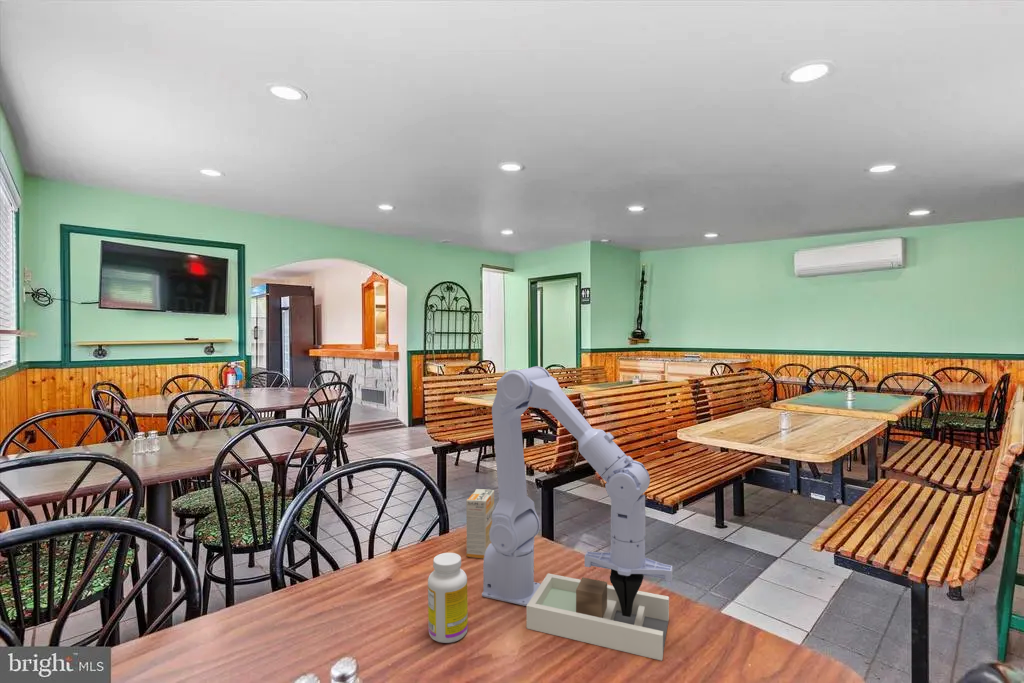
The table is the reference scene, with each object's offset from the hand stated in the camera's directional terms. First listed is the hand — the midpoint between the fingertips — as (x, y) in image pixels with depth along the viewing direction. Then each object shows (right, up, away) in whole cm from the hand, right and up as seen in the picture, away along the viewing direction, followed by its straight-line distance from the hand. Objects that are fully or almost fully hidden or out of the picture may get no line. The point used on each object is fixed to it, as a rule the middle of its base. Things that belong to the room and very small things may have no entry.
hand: (627, 613), depth 87 cm
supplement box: (-27, -2, +30) cm, 40 cm away
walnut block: (-6, -1, +2) cm, 6 cm away
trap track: (-5, -3, +2) cm, 6 cm away
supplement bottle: (-31, -3, -1) cm, 31 cm away
